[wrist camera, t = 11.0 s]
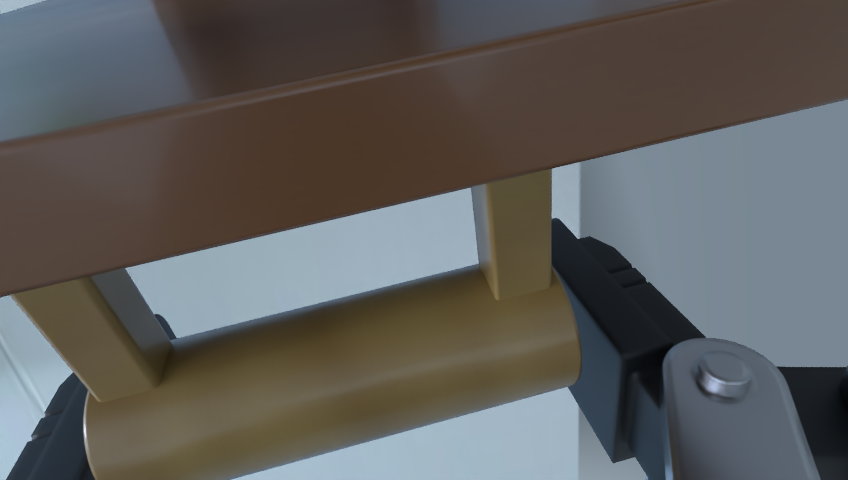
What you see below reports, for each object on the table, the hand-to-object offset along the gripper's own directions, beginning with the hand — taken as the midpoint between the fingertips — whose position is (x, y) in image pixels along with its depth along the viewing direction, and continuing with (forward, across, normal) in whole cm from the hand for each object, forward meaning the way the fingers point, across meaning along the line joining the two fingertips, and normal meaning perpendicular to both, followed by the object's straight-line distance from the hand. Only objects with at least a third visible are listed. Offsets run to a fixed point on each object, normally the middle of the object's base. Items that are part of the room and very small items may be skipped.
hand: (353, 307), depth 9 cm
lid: (+4, 0, -6) cm, 7 cm away
